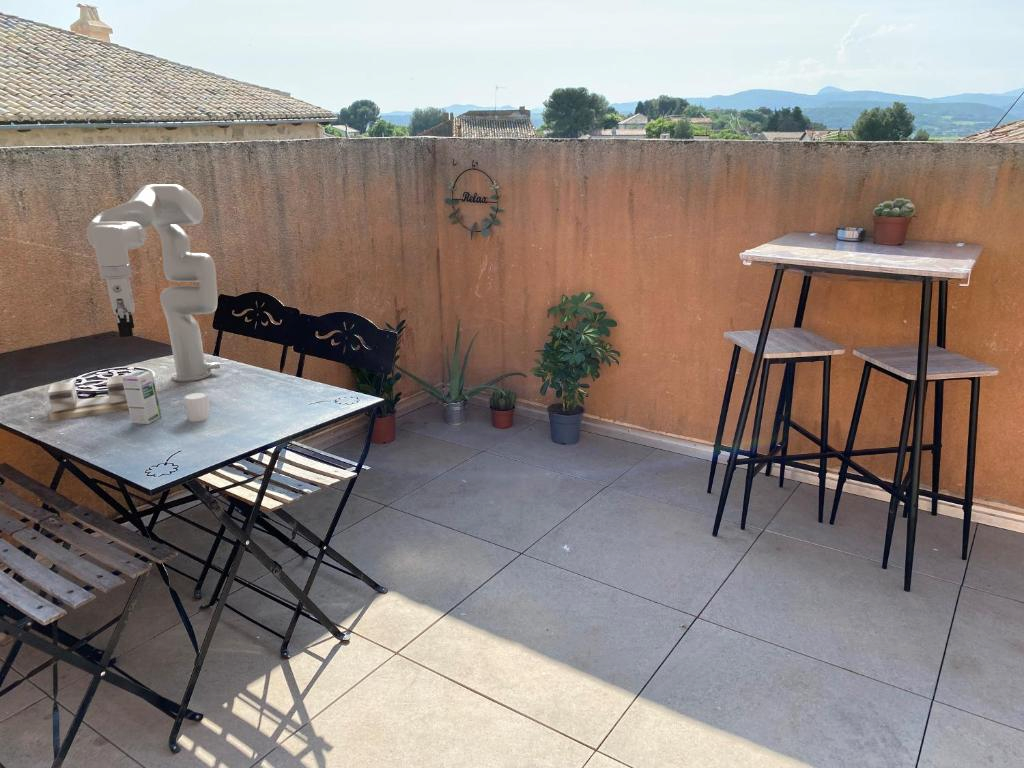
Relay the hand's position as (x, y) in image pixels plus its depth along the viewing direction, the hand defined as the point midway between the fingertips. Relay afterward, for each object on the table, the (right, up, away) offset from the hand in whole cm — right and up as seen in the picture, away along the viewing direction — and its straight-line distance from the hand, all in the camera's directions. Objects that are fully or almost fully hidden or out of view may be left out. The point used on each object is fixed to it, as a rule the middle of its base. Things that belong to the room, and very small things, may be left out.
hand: (127, 332), depth 190 cm
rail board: (-20, -22, +18) cm, 35 cm away
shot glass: (+15, -25, +10) cm, 31 cm away
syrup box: (+1, -25, +9) cm, 27 cm away
